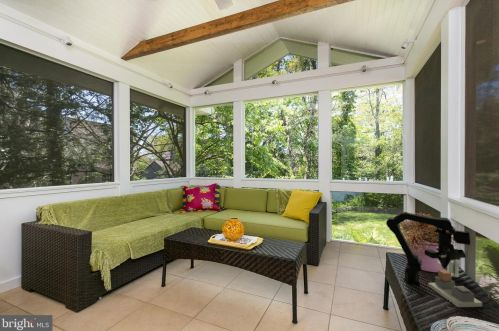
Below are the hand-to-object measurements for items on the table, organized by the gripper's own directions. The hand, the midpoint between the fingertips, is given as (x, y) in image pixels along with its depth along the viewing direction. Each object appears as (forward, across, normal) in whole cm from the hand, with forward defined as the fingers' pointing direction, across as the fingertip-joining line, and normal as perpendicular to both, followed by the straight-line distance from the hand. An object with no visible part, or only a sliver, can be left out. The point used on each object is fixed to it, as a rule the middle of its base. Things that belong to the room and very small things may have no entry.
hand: (444, 268), depth 130 cm
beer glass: (+12, +18, +16) cm, 27 cm away
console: (+12, 0, -6) cm, 13 cm away
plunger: (+10, 0, -11) cm, 15 cm away
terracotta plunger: (+7, 0, 0) cm, 7 cm away
